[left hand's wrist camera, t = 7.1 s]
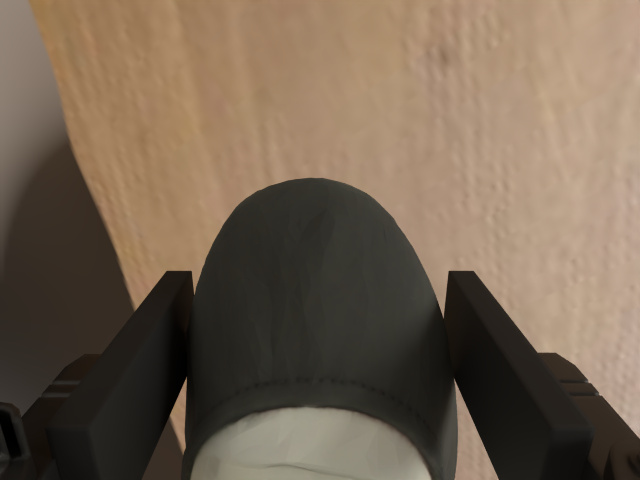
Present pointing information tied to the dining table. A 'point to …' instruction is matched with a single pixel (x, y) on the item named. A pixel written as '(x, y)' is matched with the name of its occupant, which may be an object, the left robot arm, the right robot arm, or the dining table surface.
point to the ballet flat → (317, 346)
